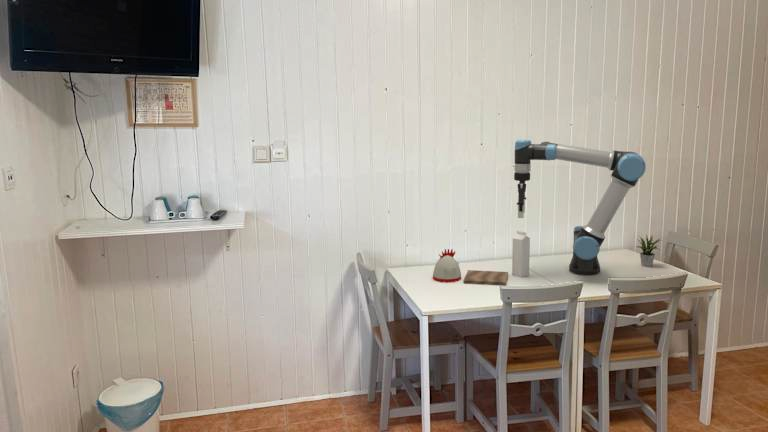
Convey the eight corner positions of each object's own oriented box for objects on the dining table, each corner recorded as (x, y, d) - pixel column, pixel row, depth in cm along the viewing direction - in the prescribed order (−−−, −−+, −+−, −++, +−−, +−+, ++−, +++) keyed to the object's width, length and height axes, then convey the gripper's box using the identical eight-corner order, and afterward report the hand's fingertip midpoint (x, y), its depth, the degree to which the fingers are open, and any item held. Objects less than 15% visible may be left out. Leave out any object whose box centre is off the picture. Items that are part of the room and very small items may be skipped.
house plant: (664, 270, 311) (666, 238, 308) (634, 269, 315) (636, 237, 312) (661, 263, 324) (663, 232, 321) (632, 261, 329) (634, 231, 325)
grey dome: (464, 281, 301) (464, 251, 299) (436, 283, 299) (436, 253, 296) (456, 273, 315) (456, 244, 312) (430, 275, 313) (429, 246, 310)
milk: (521, 277, 306) (521, 233, 301) (511, 274, 310) (512, 231, 306) (529, 275, 309) (530, 231, 305) (519, 272, 314) (520, 229, 310)
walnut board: (508, 274, 310) (508, 271, 310) (505, 285, 293) (505, 282, 293) (468, 272, 315) (468, 270, 315) (463, 283, 298) (463, 280, 298)
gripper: (515, 169, 313) (514, 210, 317) (512, 175, 289) (512, 220, 293) (530, 169, 311) (529, 210, 315) (529, 175, 287) (528, 220, 291)
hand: (521, 215), depth 304 cm, fingers open, 13 cm apart
